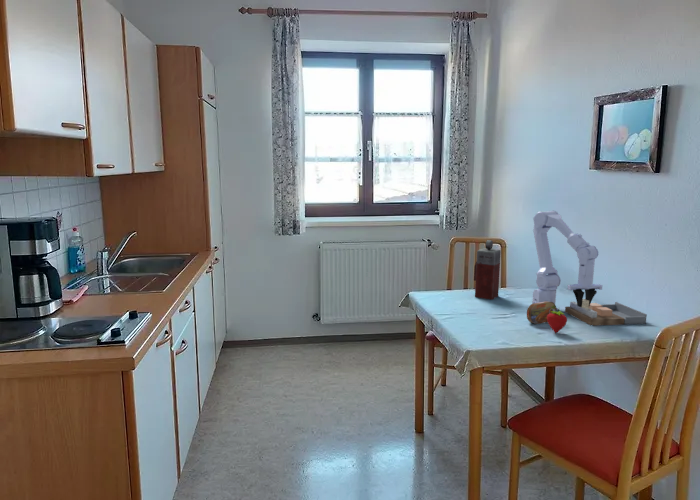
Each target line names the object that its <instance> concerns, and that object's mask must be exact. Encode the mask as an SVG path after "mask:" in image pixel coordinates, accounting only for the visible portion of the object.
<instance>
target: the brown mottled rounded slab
mask: <svg viewBox="0 0 700 500" xmlns="http://www.w3.org/2000/svg"><path fill="white" fill-rule="evenodd" d="M557 308H558V307H557V305H556V303H555V304H554V303H553V302H548V301H545V302H540V303H534V304H532V303H531V304H530V305H529V306H528V307H527V309H526V319H527V321H528V322H529V323H530V324H535V325H539V324H545V323H548V321H547V315H548V314H550V313H553V312H550V311H556V312H558V310H557Z"/></svg>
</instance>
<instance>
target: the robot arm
mask: <svg viewBox="0 0 700 500" xmlns="http://www.w3.org/2000/svg"><path fill="white" fill-rule="evenodd" d="M532 219H533V230H532V231H533V236H534V237H533V238H534V243H535V248H536V253H537V259H538V264H539V269H538V271H537V272H536V280H535V281H536V282H535V283H536V286H537V287H538V288H537V289H534V290H533V292H532V303H531V304H534V303H540V302H545V301H548V302H553V303H554V304H555V305H556V300H557V299H556V298H557V290H558V287H559V286H560V285H561V282H562V281H561V280H562V279H561V277H560V275H559V274H558V270H557V269H556V268H555V267H554V265H553V261H552V255H551V249H550V248H551V247H550V244H549V239H548V238H549V237H548V232H549V230H550V229H552V228H555V229H557V231H559V232H560V233H561V235H563V236H564V237H566V240H567V244H568V245H570V247H571V248H572V249H573V250H574V251H575V252H576V255H577V256H576V257H577V259H578V263H579V265H578V267H579V268H578V277H577V278H578V279H577V283H574V284H567V288H566V289H567V290H568V291H572V293H573V294H574V296H575V300H576V303H577V306H579V307H581V306H582V299H587V300H589V306H590V303H592V301H593V298H594V297H595V295H596V294H597V293H598V292H597V291H598V290H603V284H601V283H600V284H599V283H594V272H595V260H596V259H597V258H598V256H599V250H598V249H597V246H595V245H591V244H590V243H589V242H587V241H586V240H585V238H583V235H582V234H581V233H580V234H579V233H576V232H575V233H574V231H573V230H572V229H571V228H570V227H569V225H568V224H567V223H566V222H565V221H564V219H562V215H561V214H559V213H558V211H556V210H549V211H548V210H546V211H542V210H541V211H537V212H536V213H535V214H534V216H533V217H532ZM583 290H584V291H583ZM584 295H585V298H584ZM556 308H557V311H560V308H559V307H556Z"/></svg>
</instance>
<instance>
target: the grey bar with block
mask: <svg viewBox="0 0 700 500" xmlns="http://www.w3.org/2000/svg"><path fill="white" fill-rule="evenodd" d="M569 307H570V308H572V309H574V310H576V311H579V312H581V313H583V314H585V315H587V316H589V317H591V318H597V312H596V311H594V310H591V309H589V300H587V299H585V298H583V299H582V306H581V307H579V306H577V301H569Z"/></svg>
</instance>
